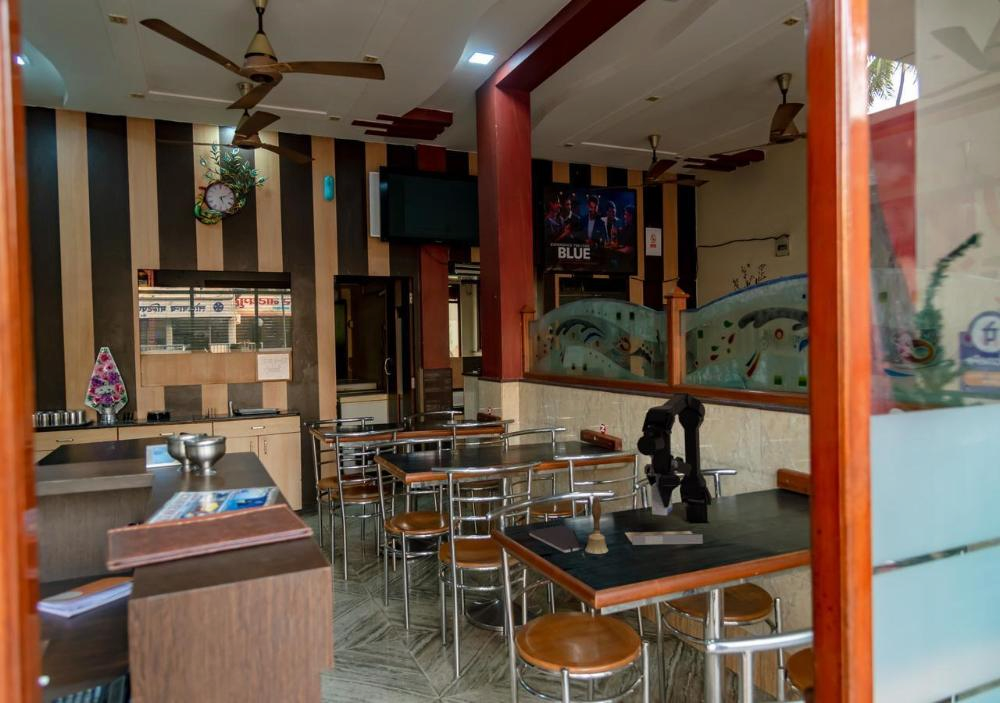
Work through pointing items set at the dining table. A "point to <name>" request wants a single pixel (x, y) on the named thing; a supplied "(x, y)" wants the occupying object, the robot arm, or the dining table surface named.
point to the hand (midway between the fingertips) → (662, 503)
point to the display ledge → (655, 534)
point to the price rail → (667, 539)
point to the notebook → (558, 538)
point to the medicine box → (659, 502)
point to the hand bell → (596, 532)
